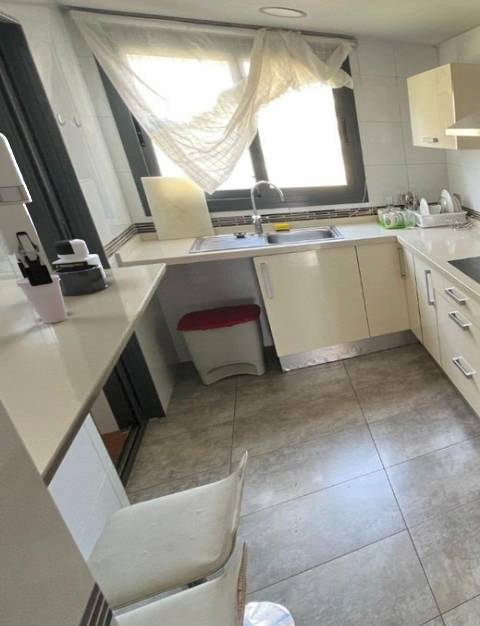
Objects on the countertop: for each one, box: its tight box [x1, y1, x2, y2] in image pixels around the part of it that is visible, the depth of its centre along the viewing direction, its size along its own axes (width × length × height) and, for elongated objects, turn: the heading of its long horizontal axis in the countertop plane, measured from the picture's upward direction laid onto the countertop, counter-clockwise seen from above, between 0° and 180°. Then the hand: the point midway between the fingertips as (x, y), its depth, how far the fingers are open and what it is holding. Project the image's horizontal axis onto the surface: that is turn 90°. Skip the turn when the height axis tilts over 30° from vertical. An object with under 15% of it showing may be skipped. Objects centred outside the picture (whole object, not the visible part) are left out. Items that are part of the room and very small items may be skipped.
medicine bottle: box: [51, 238, 107, 280], centre depth 125 cm, size 7×7×12 cm
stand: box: [51, 264, 109, 297], centre depth 120 cm, size 9×9×6 cm
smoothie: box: [15, 273, 68, 324], centre depth 99 cm, size 6×6×14 cm
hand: (38, 281), depth 98 cm, fingers closed on smoothie, 6 cm apart
